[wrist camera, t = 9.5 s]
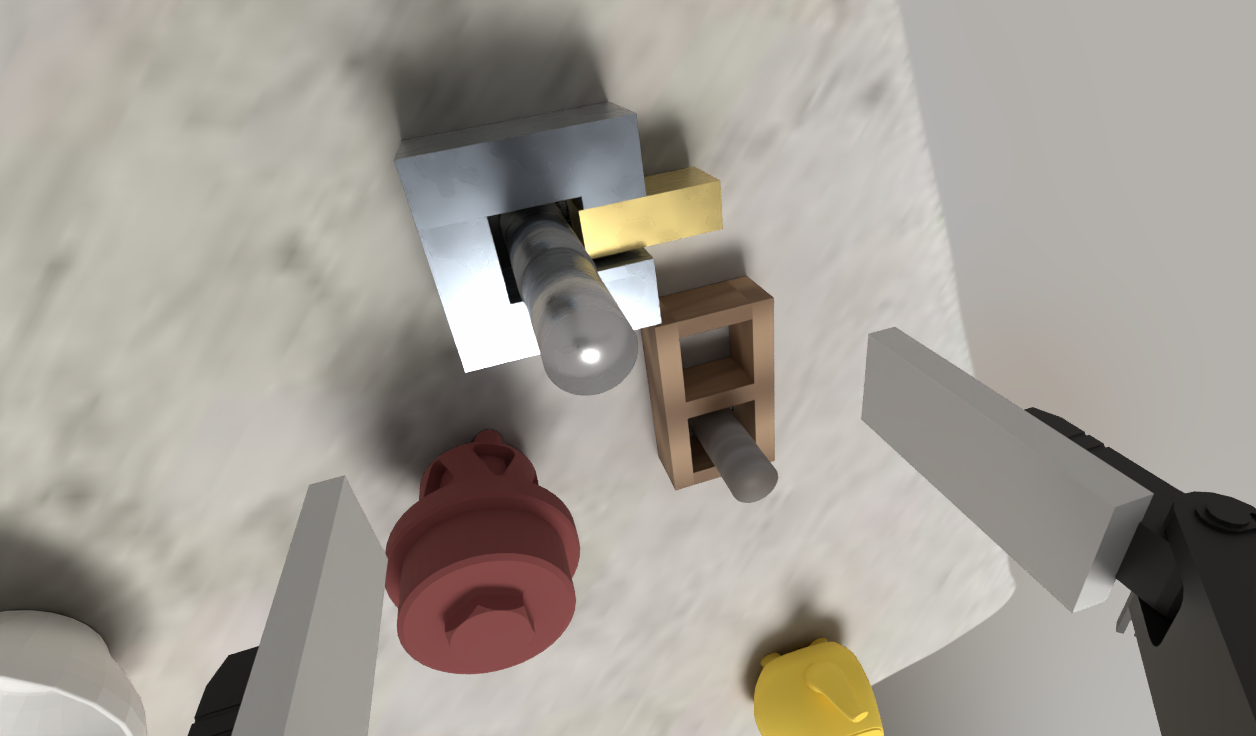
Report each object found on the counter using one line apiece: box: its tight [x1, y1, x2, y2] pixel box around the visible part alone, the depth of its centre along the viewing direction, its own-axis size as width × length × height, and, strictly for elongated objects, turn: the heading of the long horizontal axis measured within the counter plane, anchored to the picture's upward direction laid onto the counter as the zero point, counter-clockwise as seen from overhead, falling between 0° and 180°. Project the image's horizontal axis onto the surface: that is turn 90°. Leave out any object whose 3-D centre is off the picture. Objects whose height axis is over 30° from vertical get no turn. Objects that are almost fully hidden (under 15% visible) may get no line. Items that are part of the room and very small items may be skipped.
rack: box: [641, 276, 778, 503], centre depth 35 cm, size 12×7×8 cm, turn 8°
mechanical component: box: [385, 430, 580, 674], centre depth 32 cm, size 12×10×10 cm
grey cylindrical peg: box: [500, 202, 638, 395], centre depth 24 cm, size 3×3×15 cm
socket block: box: [394, 102, 661, 373], centre depth 29 cm, size 10×10×5 cm
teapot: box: [754, 638, 884, 736], centre depth 54 cm, size 18×11×11 cm, turn 4°
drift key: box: [567, 167, 723, 259], centre depth 30 cm, size 2×7×4 cm, turn 98°
